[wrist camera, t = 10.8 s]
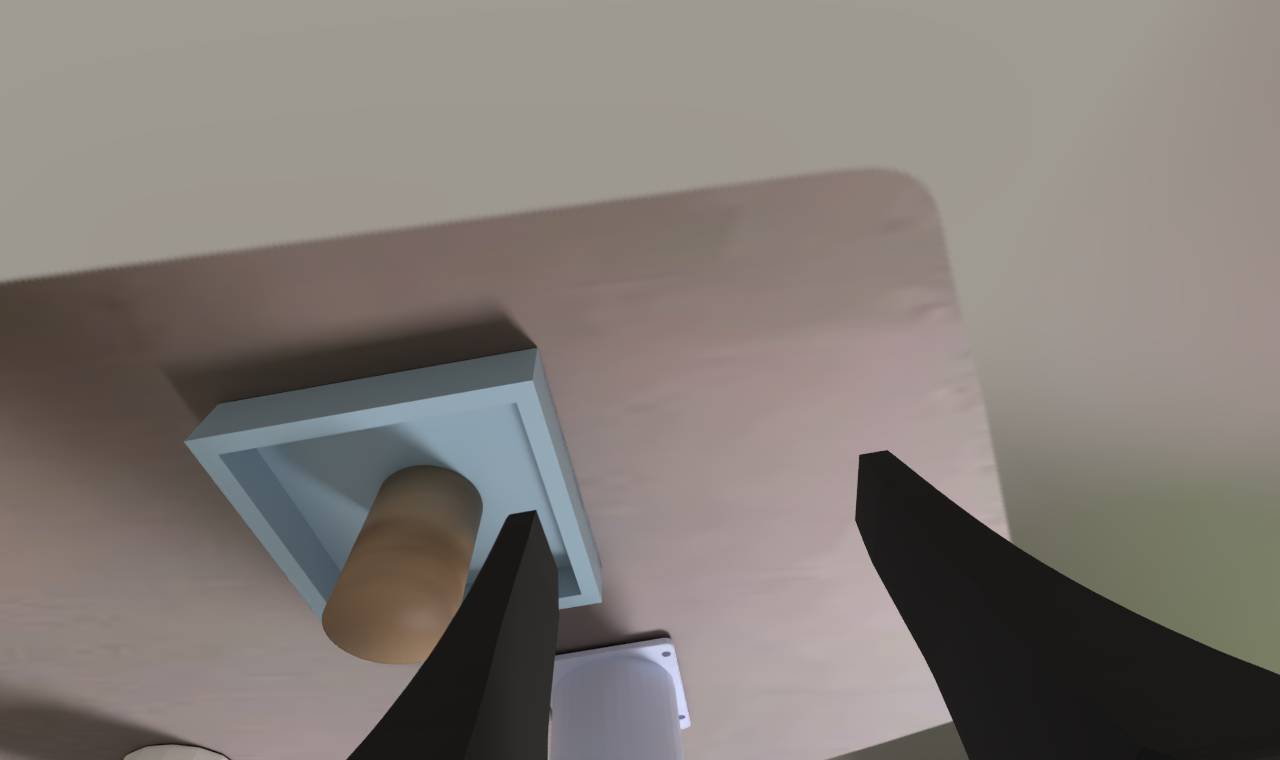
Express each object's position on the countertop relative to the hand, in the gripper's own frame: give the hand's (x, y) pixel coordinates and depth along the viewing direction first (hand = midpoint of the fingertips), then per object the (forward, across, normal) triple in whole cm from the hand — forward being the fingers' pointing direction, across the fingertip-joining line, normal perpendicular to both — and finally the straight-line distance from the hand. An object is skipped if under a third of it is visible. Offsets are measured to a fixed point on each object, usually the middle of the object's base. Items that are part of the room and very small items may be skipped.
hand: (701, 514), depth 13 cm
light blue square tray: (+10, +11, +7) cm, 17 cm away
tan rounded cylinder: (+10, +11, +7) cm, 16 cm away
